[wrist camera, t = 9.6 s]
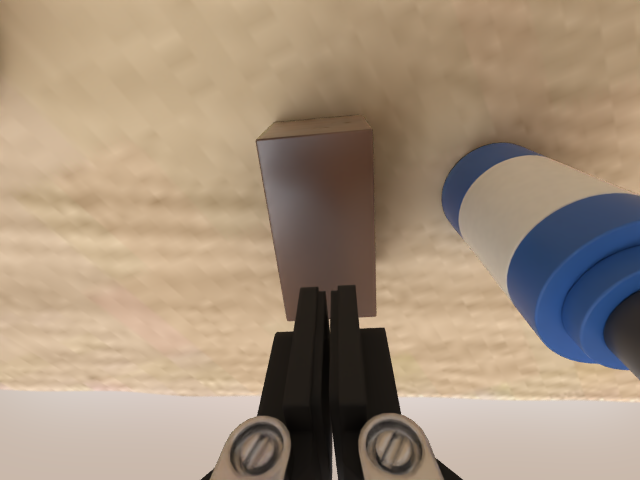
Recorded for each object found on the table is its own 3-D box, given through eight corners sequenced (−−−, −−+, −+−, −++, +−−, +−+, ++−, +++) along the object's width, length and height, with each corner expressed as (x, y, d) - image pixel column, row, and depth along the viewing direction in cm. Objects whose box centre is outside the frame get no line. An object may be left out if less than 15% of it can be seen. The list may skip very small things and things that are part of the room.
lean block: (362, 114, 18) (372, 128, 14) (367, 268, 23) (376, 317, 19) (272, 122, 19) (254, 139, 14) (295, 273, 23) (286, 321, 19)
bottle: (486, 133, 21) (834, 170, 12) (471, 217, 24) (750, 298, 15) (348, 173, 15) (886, 319, 6) (349, 283, 17) (717, 503, 8)
